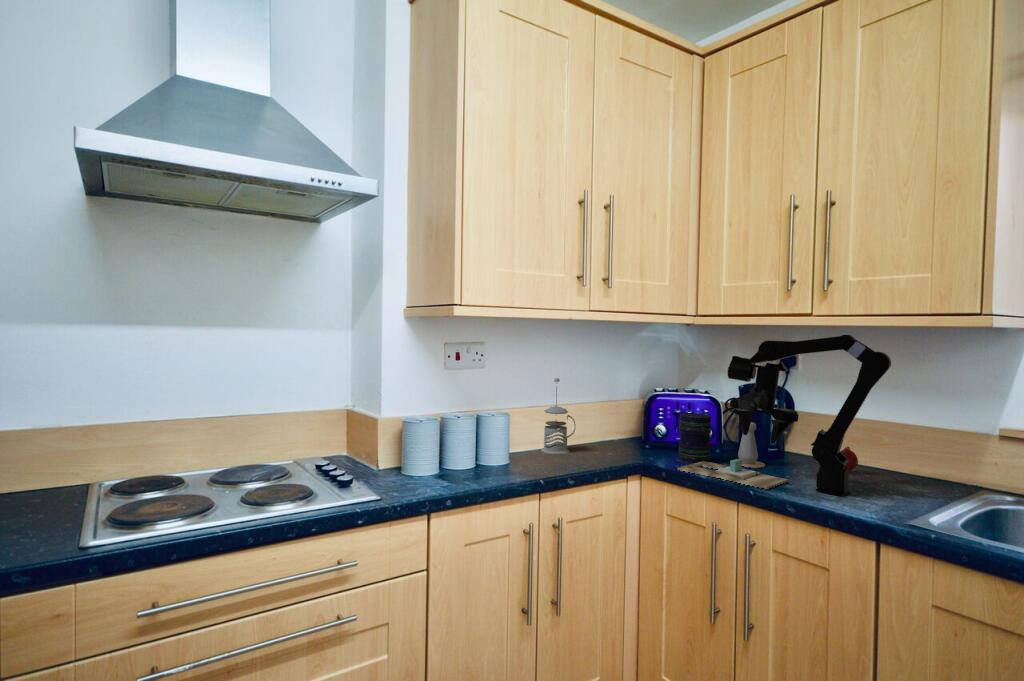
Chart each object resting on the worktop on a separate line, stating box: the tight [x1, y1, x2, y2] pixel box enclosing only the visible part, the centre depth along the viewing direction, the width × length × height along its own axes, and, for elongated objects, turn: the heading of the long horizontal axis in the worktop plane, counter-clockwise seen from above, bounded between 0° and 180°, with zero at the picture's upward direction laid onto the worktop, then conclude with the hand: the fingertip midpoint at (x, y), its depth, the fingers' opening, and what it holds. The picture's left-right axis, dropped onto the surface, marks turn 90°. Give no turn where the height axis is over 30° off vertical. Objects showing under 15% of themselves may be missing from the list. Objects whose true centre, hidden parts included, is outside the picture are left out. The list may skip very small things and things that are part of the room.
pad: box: [742, 460, 766, 469], centre depth 184 cm, size 10×10×1 cm
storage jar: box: [678, 412, 712, 464], centre depth 187 cm, size 10×10×15 cm
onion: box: [840, 445, 859, 473], centre depth 175 cm, size 6×6×8 cm
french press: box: [540, 377, 577, 455], centre depth 198 cm, size 10×12×25 cm
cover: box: [715, 458, 757, 478], centre depth 166 cm, size 8×8×4 cm
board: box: [677, 461, 789, 490], centre depth 168 cm, size 27×13×2 cm, turn 42°
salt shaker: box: [737, 421, 759, 465], centre depth 184 cm, size 6×6×13 cm
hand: (758, 439), depth 163 cm, fingers open, 9 cm apart
